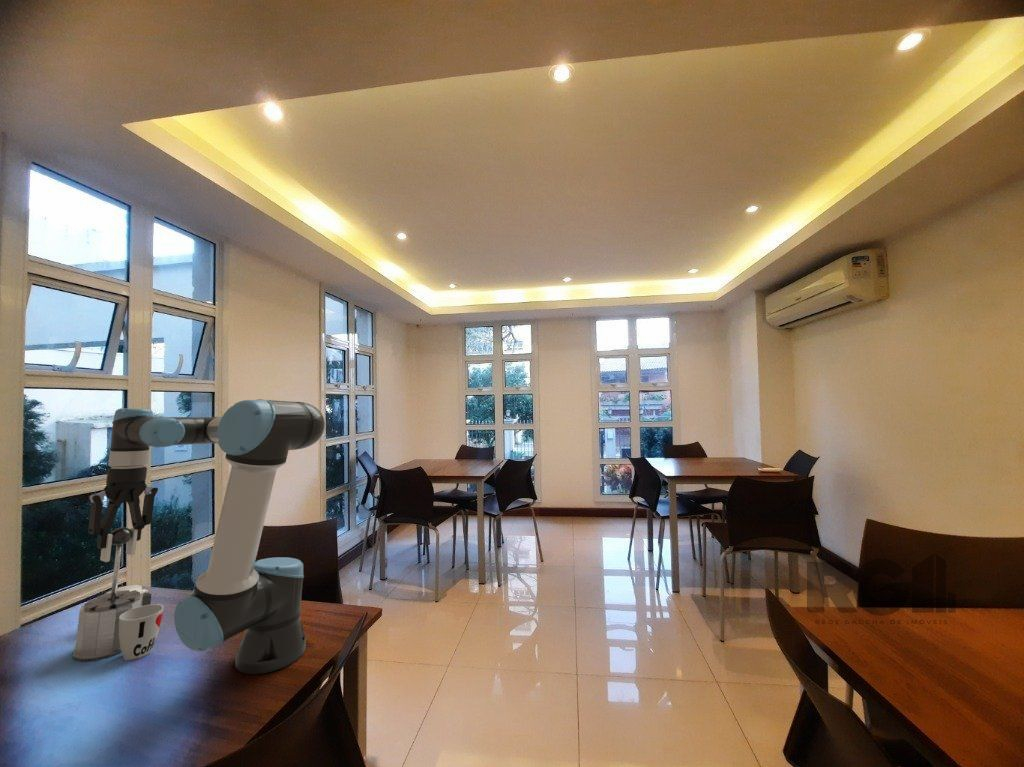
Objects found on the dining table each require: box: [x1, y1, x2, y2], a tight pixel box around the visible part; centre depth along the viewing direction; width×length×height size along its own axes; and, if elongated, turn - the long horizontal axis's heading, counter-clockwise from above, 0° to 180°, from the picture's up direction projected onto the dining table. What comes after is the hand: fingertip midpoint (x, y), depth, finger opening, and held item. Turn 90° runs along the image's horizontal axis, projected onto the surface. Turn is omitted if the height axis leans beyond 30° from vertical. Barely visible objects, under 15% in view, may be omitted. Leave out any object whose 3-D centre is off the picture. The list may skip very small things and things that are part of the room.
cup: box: [119, 603, 165, 661], centre depth 98 cm, size 8×8×10 cm
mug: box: [104, 584, 149, 594], centre depth 111 cm, size 8×9×9 cm
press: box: [72, 590, 152, 662], centre depth 101 cm, size 12×14×12 cm
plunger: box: [93, 526, 132, 611], centre depth 101 cm, size 9×9×20 cm
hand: (117, 557), depth 102 cm, fingers closed on plunger, 4 cm apart
